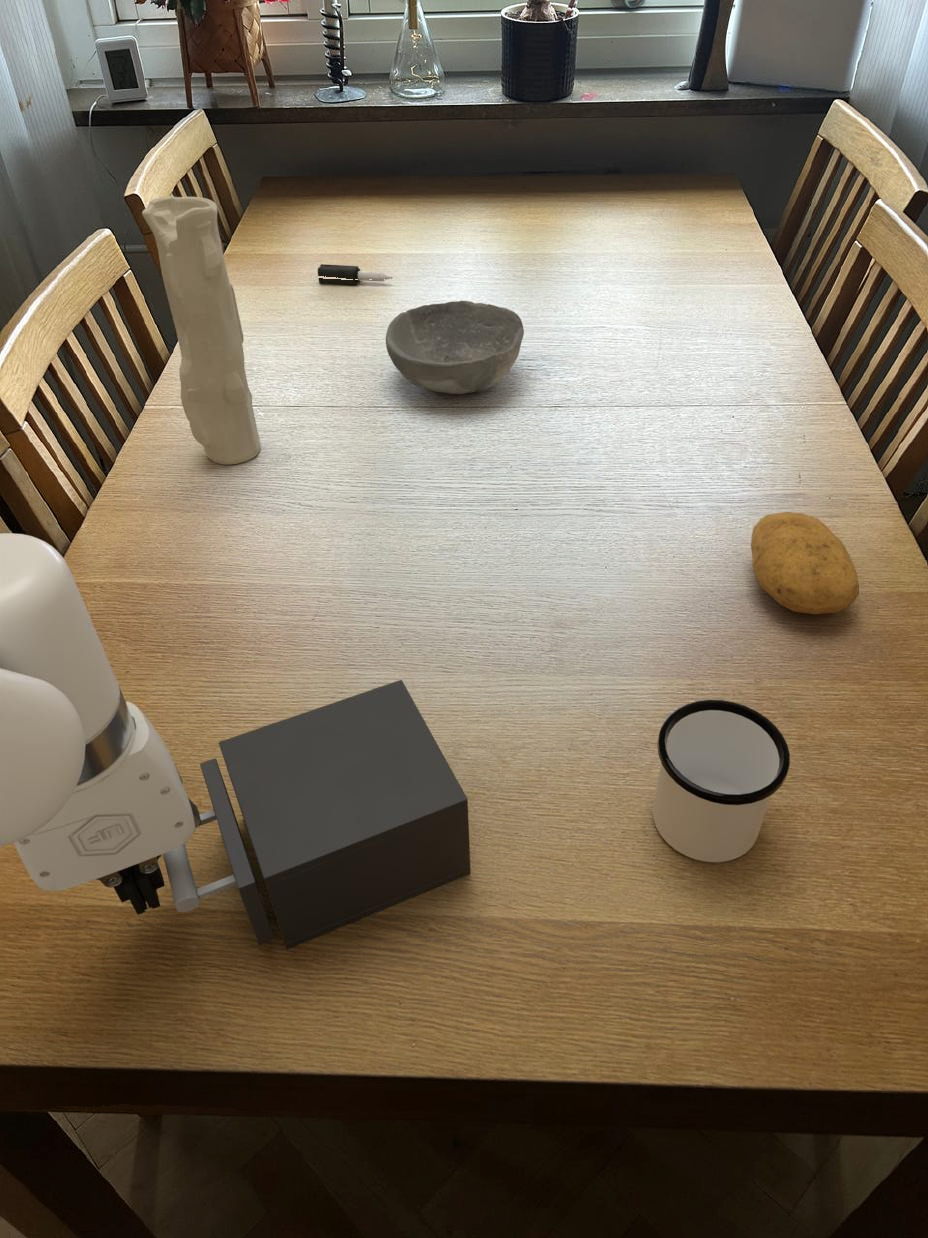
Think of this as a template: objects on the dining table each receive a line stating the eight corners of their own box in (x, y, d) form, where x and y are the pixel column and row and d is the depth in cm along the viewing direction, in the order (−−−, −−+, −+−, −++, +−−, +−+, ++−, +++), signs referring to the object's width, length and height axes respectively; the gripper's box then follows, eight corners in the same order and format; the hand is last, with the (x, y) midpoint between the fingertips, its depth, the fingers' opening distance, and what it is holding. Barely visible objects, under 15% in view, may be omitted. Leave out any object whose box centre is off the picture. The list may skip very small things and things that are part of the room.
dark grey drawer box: (286, 950, 67) (263, 879, 60) (242, 816, 75) (218, 741, 69) (471, 873, 71) (468, 799, 64) (409, 755, 79) (401, 679, 73)
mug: (770, 878, 70) (797, 807, 64) (643, 862, 71) (657, 792, 65) (759, 753, 79) (781, 680, 72) (646, 741, 80) (658, 668, 74)
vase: (272, 463, 112) (221, 207, 92) (202, 478, 110) (133, 221, 90) (259, 427, 118) (208, 180, 98) (192, 441, 116) (125, 192, 96)
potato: (763, 635, 89) (778, 580, 84) (731, 551, 98) (743, 497, 93) (859, 631, 89) (880, 576, 84) (818, 547, 98) (834, 493, 93)
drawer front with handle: (199, 971, 65) (172, 914, 60) (167, 843, 73) (140, 783, 67) (433, 875, 70) (427, 814, 65) (380, 765, 78) (371, 703, 72)
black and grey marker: (319, 284, 149) (391, 288, 147) (317, 269, 148) (390, 273, 146) (323, 277, 151) (395, 281, 149) (321, 262, 149) (393, 266, 148)
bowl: (362, 387, 125) (355, 331, 119) (448, 338, 134) (446, 285, 129) (463, 432, 116) (461, 373, 111) (548, 376, 126) (550, 320, 120)
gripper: (-75, 826, 49) (43, 984, 62) (204, 730, 53) (261, 896, 66) (-79, 727, 54) (31, 892, 67) (177, 647, 58) (234, 816, 71)
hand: (145, 893), depth 66 cm, fingers closed
